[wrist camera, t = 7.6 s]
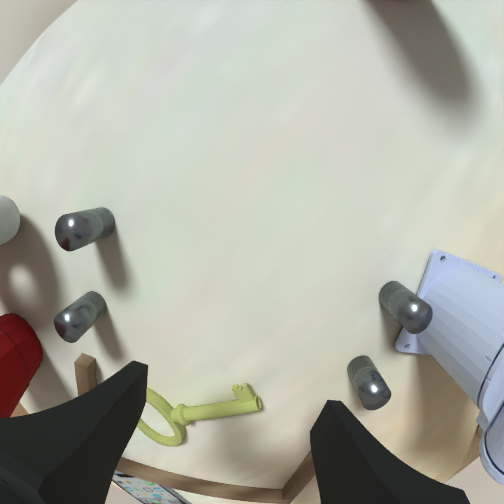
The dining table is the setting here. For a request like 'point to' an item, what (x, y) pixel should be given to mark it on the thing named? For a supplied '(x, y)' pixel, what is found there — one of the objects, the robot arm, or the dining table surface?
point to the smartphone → (147, 490)
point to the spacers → (94, 307)
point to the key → (197, 413)
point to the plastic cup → (16, 360)
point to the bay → (283, 497)
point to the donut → (8, 219)
